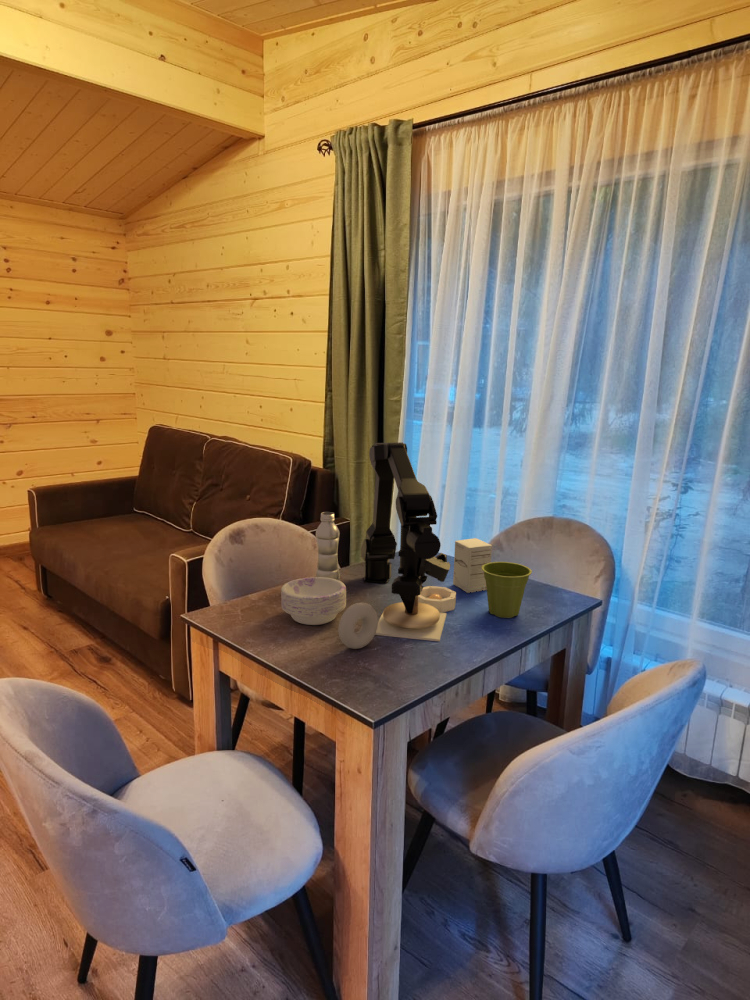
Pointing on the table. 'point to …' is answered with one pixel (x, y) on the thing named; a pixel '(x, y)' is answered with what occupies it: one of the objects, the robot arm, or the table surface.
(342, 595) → the paper bowls
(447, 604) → the dish
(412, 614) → the lid
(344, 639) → the donut
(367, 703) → the table surface
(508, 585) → the plant pot
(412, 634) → the mat
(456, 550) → the supplement box
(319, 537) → the plastic bottle
